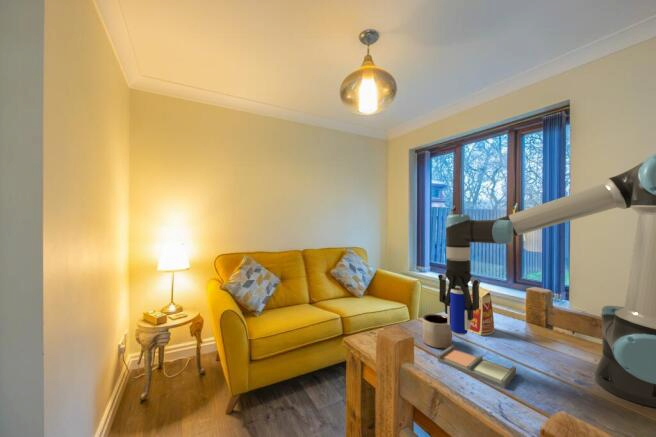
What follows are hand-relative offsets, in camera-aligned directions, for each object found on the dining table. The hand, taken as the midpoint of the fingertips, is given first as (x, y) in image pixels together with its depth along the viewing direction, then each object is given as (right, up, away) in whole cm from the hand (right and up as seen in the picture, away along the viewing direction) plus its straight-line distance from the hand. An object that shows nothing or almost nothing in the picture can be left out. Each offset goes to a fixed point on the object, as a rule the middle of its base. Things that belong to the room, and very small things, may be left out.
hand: (458, 326), depth 92 cm
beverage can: (0, -2, 0) cm, 2 cm away
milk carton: (+22, -12, +25) cm, 35 cm away
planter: (-2, -12, +14) cm, 19 cm away
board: (+3, -12, -4) cm, 13 cm away
